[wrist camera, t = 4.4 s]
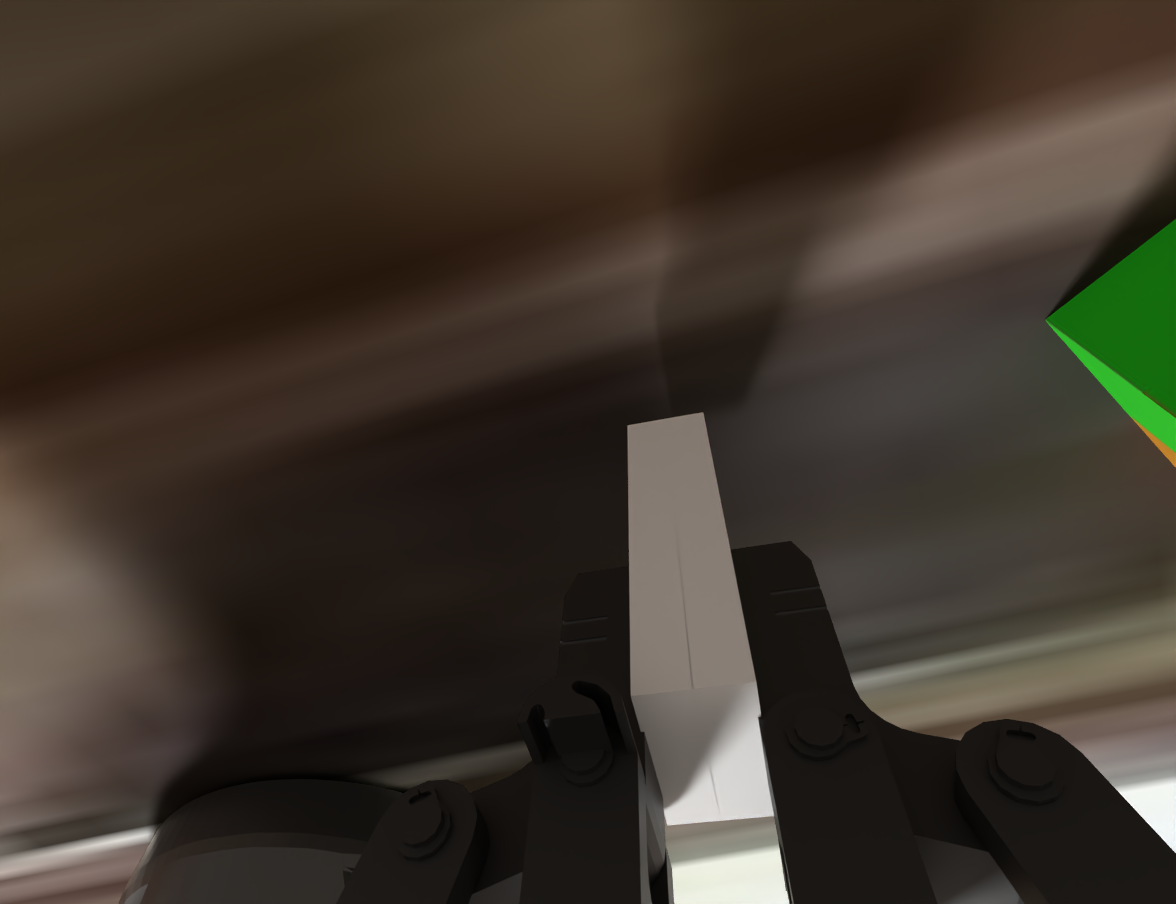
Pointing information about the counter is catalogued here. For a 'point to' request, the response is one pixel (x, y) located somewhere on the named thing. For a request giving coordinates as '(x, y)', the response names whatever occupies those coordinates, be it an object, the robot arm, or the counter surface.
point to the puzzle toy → (1132, 335)
